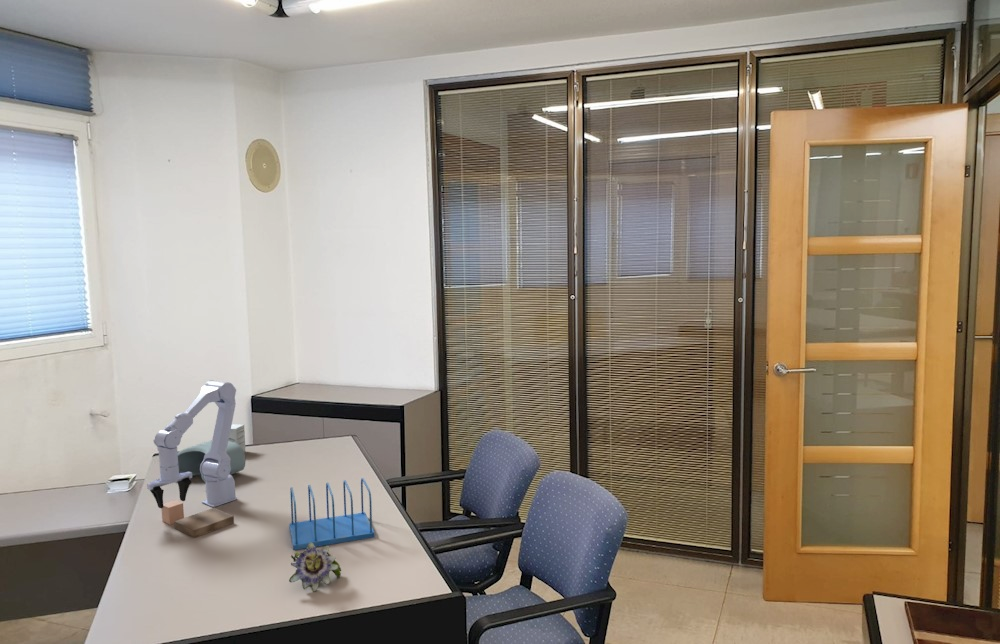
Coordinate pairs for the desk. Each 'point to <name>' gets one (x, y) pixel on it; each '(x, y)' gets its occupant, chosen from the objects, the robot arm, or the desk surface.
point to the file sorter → (331, 523)
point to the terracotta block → (172, 512)
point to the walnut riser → (204, 522)
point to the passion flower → (314, 567)
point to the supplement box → (237, 435)
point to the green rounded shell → (195, 454)
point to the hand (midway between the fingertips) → (171, 503)
